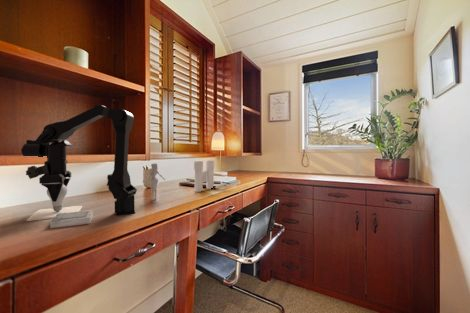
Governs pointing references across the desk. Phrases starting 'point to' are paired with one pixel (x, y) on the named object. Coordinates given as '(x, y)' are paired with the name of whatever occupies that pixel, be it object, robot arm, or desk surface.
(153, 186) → the human figurine
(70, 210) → the mat
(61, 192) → the lightbulb
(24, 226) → the desk surface
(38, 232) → the desk surface
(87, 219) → the grey flat square frame
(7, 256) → the desk surface
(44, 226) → the desk surface
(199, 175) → the binoculars
